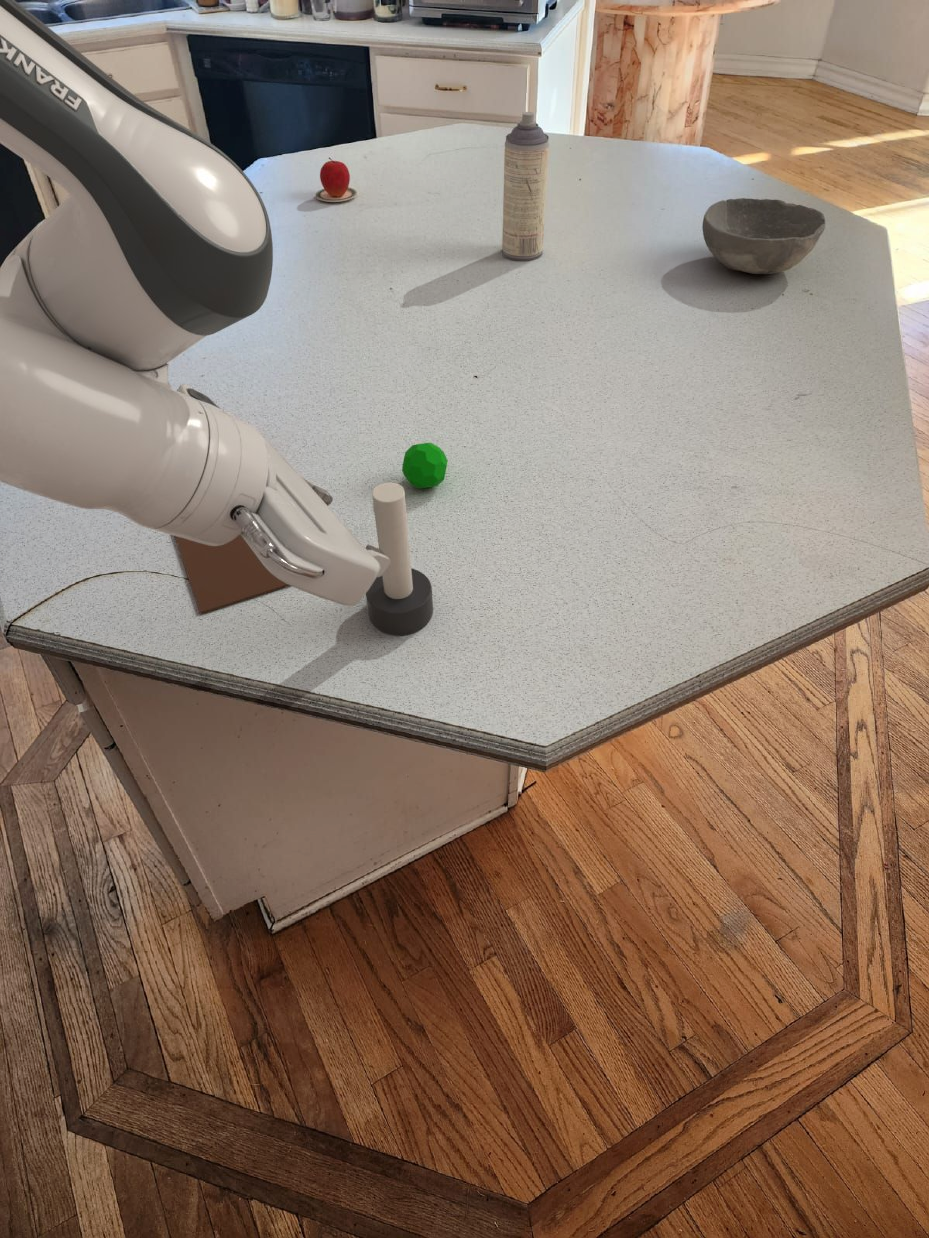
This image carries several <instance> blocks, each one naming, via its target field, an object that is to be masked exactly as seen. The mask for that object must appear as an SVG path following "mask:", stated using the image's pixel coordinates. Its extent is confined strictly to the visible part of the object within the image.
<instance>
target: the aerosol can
mask: <svg viewBox="0 0 929 1238" xmlns="http://www.w3.org/2000/svg"><path fill="white" fill-rule="evenodd" d="M521 115H522V116H521V120H520V121H519V123H517V124H516V126H514V127H513V128H512V130H511V132H510V133H507V134H506V135H505V141H504V158H503V159H504V161H503V162H504V163H503V197H502V199H503V200H502V202H503V203H502V239H501V241H502V242H501V243H502V244H501V255H502V256H503V257H504V258H505V259H508V260H511V261H517V262H528V261H529V262H530V261H535V260H537V259H539V258H541V257H542V255H543V250H544V236H545V235H544V234H545V220H546V219H545V218H546V203H547V186H548V171H549V170H548V169H549V154H550V142H549V139H550V136H549V135H548V134H547V133H544V130H543V128H542V127H540V126H539V124H538V123H537V121H535V113H534V112H532V111H524V112H522V114H521Z"/></svg>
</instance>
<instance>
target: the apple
mask: <svg viewBox="0 0 929 1238" xmlns="http://www.w3.org/2000/svg"><path fill="white" fill-rule="evenodd" d="M328 159H329V161H326V162H325V163H323V165H322V166H321V168H320V171H319V180H320V182H321V185H322V187H323V188H321V189H319V190H318V191H317V192H315V198H316V199H317V200H319V201H322V202H327V203H328V202H329V203H341V202H345V201H350V200H352V199H354V198H356V197H357V195H358V191H357V189H355V188H352V187H349V185H350V181H351V175H350V171H349V169H348V167H347V165H346V164H345V163H344V162H342V161H339V160H333V159H332V158H331V157H328Z"/></svg>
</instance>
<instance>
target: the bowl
mask: <svg viewBox="0 0 929 1238" xmlns="http://www.w3.org/2000/svg"><path fill="white" fill-rule="evenodd" d="M701 228H702V236H703V240H704V242H705V245H706V248H707V249H708V250H709V252H710V253H711V254H712V255H713V257H714V258H715V259H716V260H717V261H718V262H719V263H721V264H723V266H725V267H726V268H727V269H730V270H733V271H739V272H743V273H748V274H753V275H770V274H778V273H782V272H786V271H789V270H790V269H792V268H794V267H795V266H796V265H798V264H799V263H801V262H802V261H803V260H804V259H805V258H806V257H807V256H808V255H809V254H810V253H811V252H812V251H813V250H814V249H815V247H816V246H817V244H818V241H819V239H820V238H821V236H822V234H823V233H824V231H825V229H826V218H825V214H824V213H823V212H821V211H820V210H818V209H816V208H813V207H807V206H805V205H802V204H795V203H791V202H790V203H789V202H786V201H784V200H781V199H769V198H764V199H763V198H762V199H761V198H760V199H759V198H746V197H741V198H728V199H726V200H724V199H722V200H720V201H717V202H715V203H713V204H711V205H710V206H709V207H708V208H707V210H706V211H705V213H704V215H703V219H702V227H701Z"/></svg>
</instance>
